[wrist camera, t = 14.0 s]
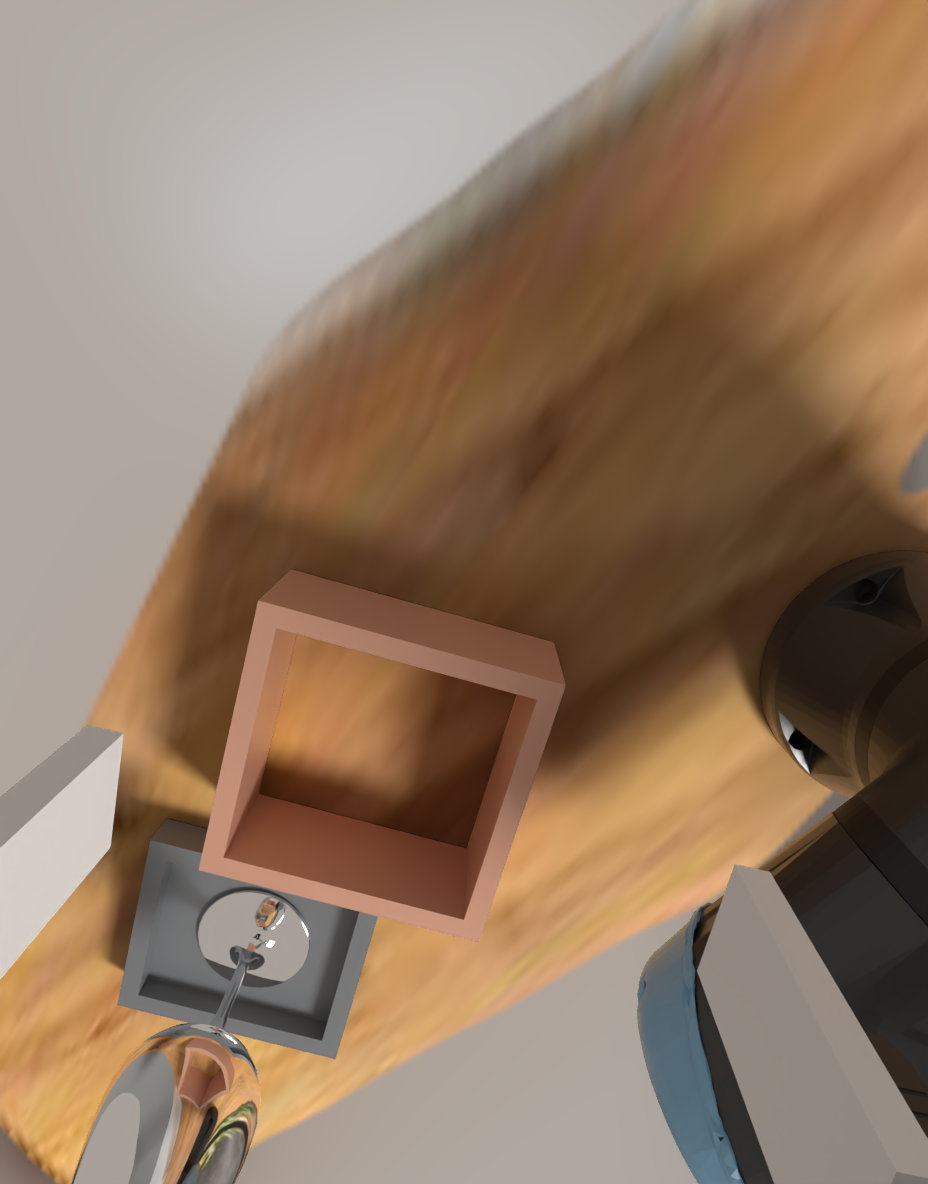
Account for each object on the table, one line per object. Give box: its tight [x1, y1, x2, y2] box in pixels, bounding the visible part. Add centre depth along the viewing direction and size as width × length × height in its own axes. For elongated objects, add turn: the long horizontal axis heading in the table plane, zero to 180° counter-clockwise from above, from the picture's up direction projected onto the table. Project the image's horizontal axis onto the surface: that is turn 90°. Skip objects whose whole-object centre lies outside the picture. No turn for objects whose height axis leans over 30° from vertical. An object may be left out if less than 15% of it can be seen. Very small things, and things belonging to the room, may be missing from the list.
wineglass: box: [71, 890, 311, 1184], centre depth 42 cm, size 8×8×20 cm
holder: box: [199, 569, 566, 942], centre depth 45 cm, size 16×16×7 cm
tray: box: [117, 818, 378, 1059], centre depth 51 cm, size 15×13×2 cm
